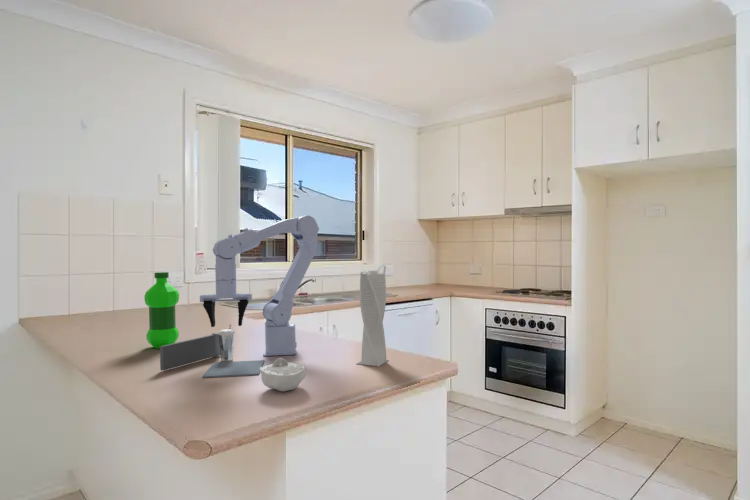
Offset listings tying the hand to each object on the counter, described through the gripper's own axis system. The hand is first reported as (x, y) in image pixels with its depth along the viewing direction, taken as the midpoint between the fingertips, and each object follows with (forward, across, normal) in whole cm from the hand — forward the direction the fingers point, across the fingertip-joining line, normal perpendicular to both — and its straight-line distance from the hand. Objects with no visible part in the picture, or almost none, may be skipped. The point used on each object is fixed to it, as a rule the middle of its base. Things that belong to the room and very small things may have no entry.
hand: (226, 325), depth 135 cm
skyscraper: (+10, -42, +12) cm, 45 cm away
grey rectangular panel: (+10, +9, +2) cm, 14 cm away
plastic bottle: (+10, +25, -23) cm, 35 cm away
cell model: (+10, -18, +31) cm, 37 cm away
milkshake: (+10, 0, 0) cm, 10 cm away
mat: (+10, -4, +11) cm, 15 cm away
